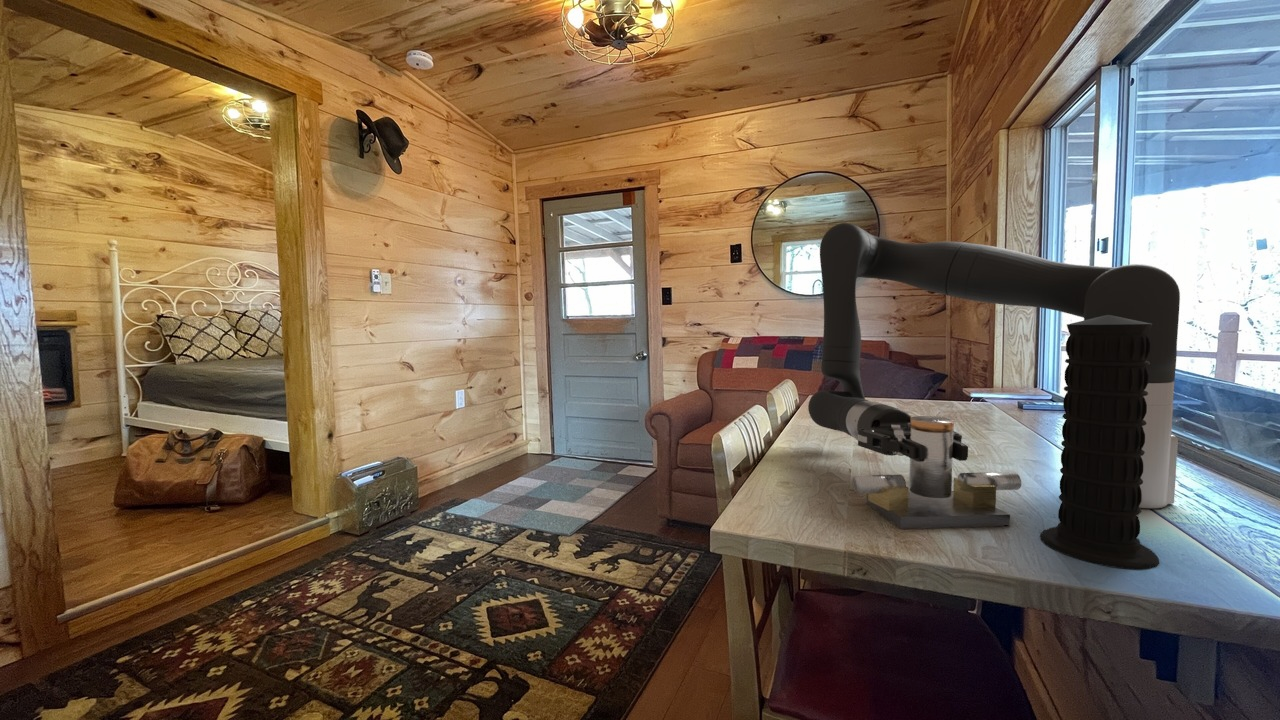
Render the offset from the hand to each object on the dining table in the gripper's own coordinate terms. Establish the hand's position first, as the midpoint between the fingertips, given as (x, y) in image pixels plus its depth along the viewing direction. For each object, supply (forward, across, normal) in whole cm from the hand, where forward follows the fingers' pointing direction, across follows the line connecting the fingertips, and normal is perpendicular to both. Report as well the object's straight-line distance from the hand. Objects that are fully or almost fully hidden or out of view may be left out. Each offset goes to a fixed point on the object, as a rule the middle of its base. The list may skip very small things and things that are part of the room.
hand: (943, 453), depth 65 cm
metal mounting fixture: (-2, 0, +9) cm, 9 cm away
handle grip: (+9, +12, +9) cm, 18 cm away
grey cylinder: (-3, 0, +6) cm, 7 cm away
